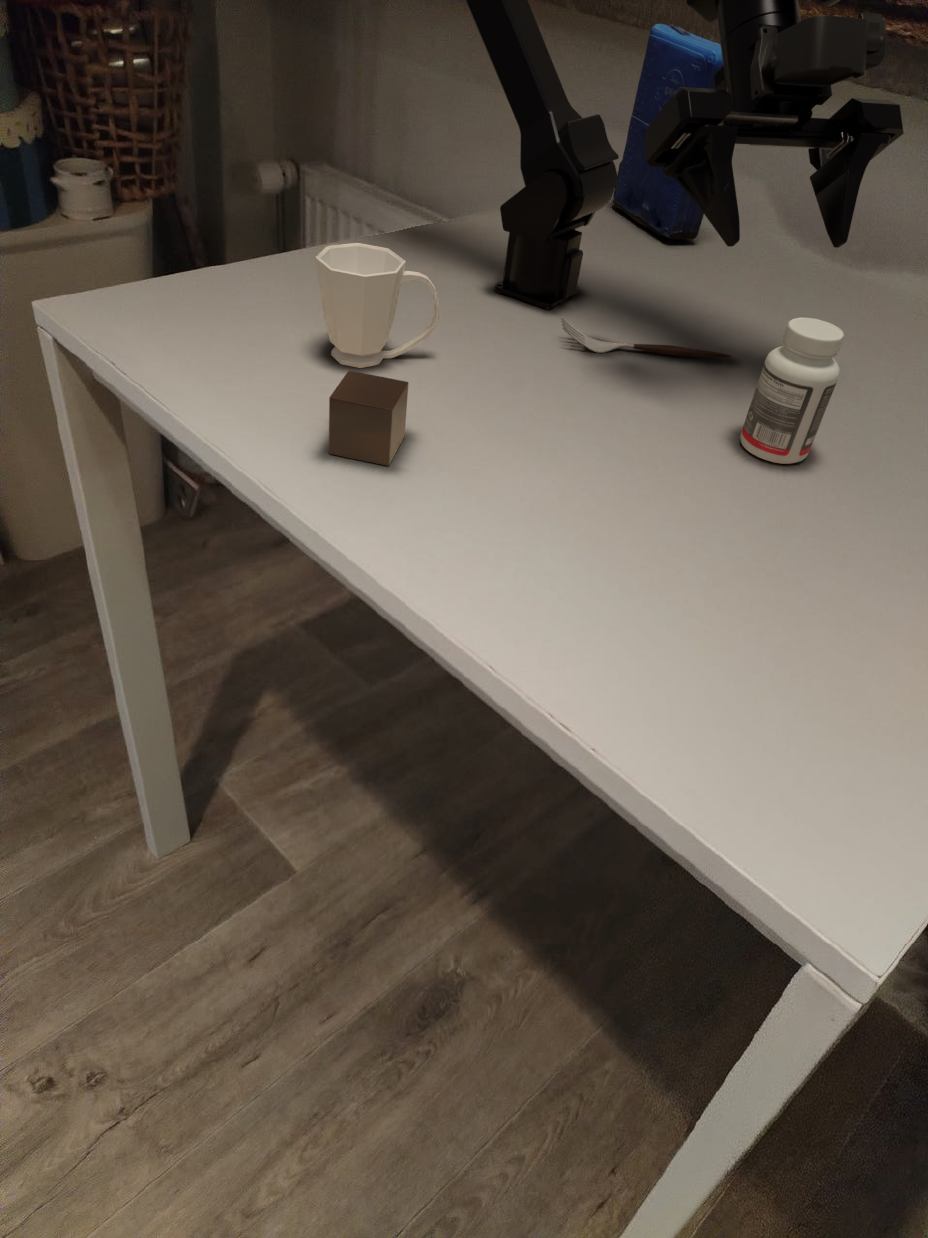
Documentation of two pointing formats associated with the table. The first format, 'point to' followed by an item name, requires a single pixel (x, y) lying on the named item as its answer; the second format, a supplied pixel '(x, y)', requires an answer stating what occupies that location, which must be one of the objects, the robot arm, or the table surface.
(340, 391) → the walnut block
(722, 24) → the robot arm
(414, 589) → the table surface
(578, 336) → the fork
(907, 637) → the table surface
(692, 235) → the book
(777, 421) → the pill bottle
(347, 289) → the cup
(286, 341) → the table surface
